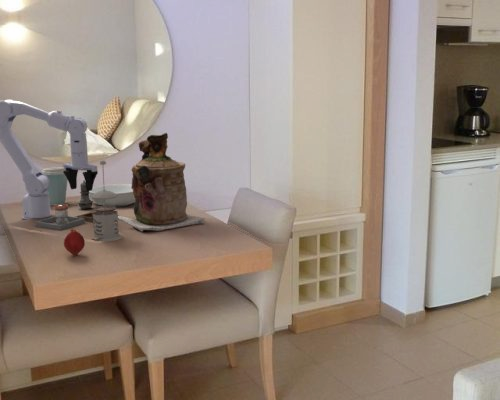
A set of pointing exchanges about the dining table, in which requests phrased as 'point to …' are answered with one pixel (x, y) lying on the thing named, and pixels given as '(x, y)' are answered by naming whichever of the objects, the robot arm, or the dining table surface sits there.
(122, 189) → the serving bowl
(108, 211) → the french press
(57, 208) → the pin
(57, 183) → the disposable coffee cup
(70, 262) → the dining table surface
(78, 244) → the onion
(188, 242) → the dining table surface
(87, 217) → the board
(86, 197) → the grey tiered figure
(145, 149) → the cookie jar
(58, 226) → the tray
